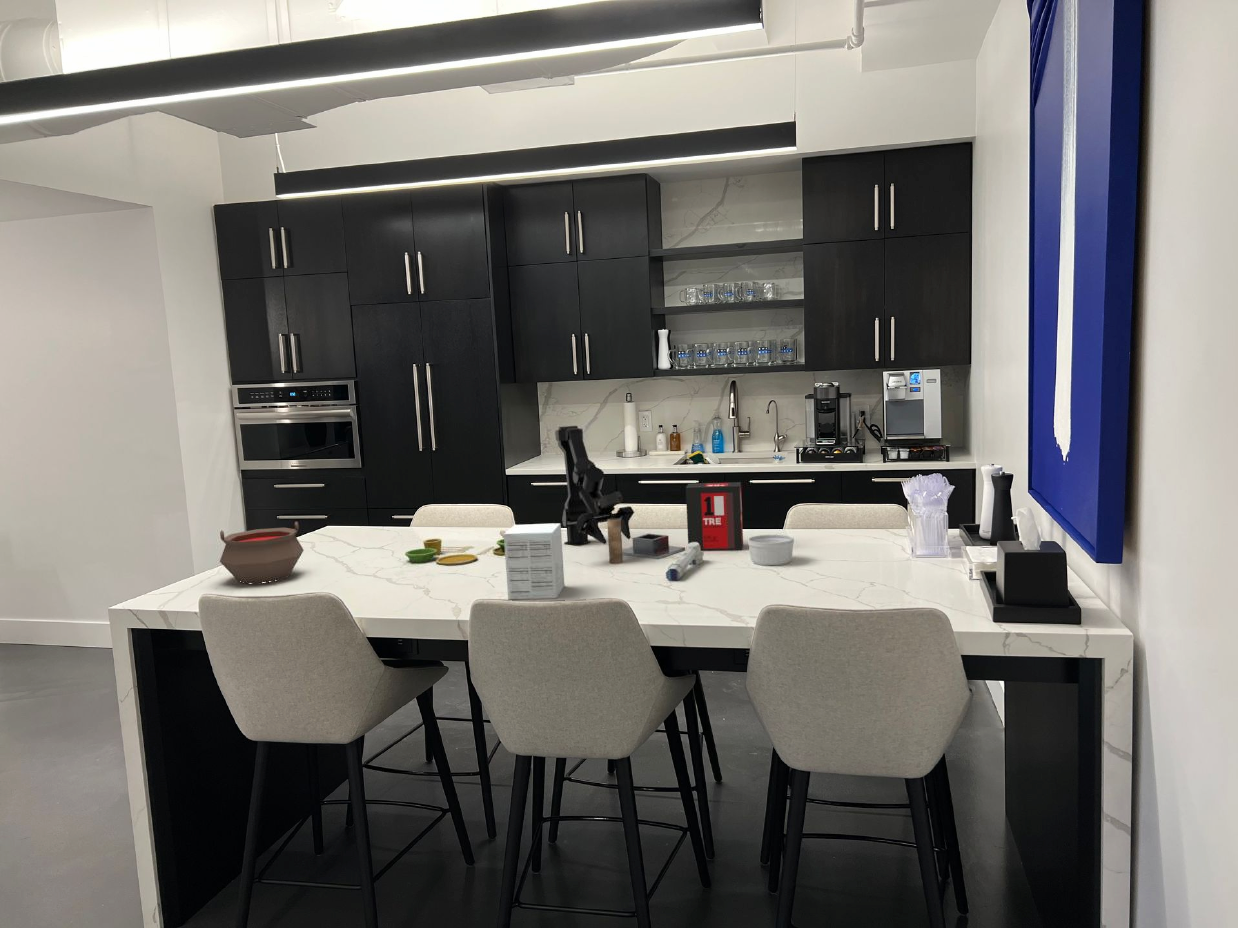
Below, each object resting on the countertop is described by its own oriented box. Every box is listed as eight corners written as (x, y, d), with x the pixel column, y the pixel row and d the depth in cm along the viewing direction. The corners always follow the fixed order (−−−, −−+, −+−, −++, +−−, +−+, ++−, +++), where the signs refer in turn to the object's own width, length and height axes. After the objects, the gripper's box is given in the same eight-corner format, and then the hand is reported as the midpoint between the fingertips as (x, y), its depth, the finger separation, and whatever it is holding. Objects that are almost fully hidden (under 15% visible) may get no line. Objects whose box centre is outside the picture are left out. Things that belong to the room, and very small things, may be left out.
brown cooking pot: (225, 593, 263) (219, 536, 262) (218, 577, 285) (213, 525, 283) (312, 579, 274) (307, 525, 272) (299, 565, 296) (295, 515, 294)
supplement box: (517, 587, 252) (513, 524, 250) (565, 585, 251) (561, 522, 249) (507, 600, 239) (502, 533, 237) (557, 598, 238) (552, 532, 236)
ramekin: (749, 556, 274) (749, 534, 274) (795, 556, 272) (794, 533, 271) (746, 567, 261) (746, 543, 261) (794, 567, 259) (793, 542, 258)
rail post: (606, 562, 276) (604, 520, 275) (615, 560, 279) (613, 517, 278) (617, 564, 274) (614, 521, 272) (625, 561, 277) (623, 518, 275)
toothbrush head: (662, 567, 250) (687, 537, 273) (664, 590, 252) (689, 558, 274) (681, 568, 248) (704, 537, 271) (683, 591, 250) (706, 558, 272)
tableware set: (552, 549, 303) (551, 530, 302) (518, 569, 277) (516, 548, 276) (440, 547, 316) (439, 529, 315) (397, 566, 289) (395, 546, 289)
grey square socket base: (617, 553, 288) (616, 538, 287) (644, 545, 299) (643, 530, 298) (658, 558, 278) (657, 543, 277) (685, 549, 288) (684, 534, 288)
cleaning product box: (688, 551, 286) (685, 487, 284) (691, 545, 295) (688, 483, 293) (742, 550, 283) (739, 486, 281) (743, 544, 292) (740, 482, 290)
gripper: (578, 487, 272) (602, 528, 264) (628, 480, 283) (653, 519, 275) (565, 511, 279) (588, 552, 271) (615, 503, 290) (638, 542, 282)
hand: (617, 540), depth 275 cm, fingers open, 9 cm apart
